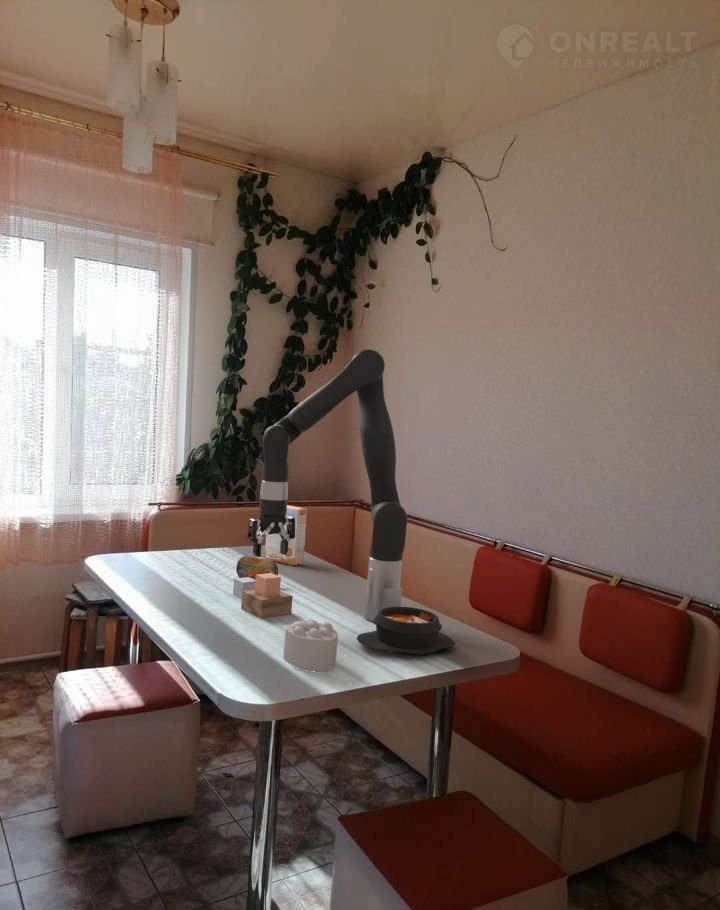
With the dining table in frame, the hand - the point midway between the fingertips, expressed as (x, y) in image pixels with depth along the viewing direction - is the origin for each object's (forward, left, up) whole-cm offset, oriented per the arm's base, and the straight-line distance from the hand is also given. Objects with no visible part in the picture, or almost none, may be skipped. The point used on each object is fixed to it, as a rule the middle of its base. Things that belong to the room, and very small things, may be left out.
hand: (270, 555), depth 197 cm
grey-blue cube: (+16, -3, -16) cm, 23 cm away
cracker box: (+50, -41, -16) cm, 67 cm away
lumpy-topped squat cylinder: (-38, +13, -16) cm, 43 cm away
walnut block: (0, 0, -16) cm, 16 cm away
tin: (+28, -15, -16) cm, 36 cm away
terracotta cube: (0, 0, -11) cm, 11 cm away
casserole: (-41, -14, -16) cm, 46 cm away
